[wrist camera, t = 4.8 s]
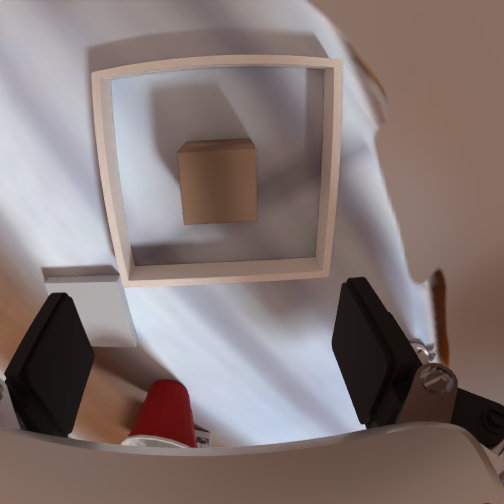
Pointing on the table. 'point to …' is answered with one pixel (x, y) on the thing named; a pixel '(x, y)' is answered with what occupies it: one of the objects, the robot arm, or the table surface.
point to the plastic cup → (164, 418)
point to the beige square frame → (220, 270)
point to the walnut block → (218, 181)
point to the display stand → (99, 308)
